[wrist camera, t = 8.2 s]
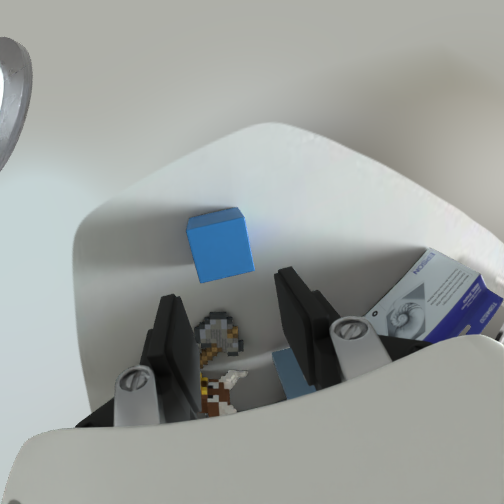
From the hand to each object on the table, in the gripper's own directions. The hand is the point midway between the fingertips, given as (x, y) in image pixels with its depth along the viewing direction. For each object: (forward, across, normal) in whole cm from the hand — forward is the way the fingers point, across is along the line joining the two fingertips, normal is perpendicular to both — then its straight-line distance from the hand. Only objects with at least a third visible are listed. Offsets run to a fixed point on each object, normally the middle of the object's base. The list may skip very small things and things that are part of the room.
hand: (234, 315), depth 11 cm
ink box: (+12, -18, +10) cm, 24 cm away
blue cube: (+12, 0, 0) cm, 12 cm away
